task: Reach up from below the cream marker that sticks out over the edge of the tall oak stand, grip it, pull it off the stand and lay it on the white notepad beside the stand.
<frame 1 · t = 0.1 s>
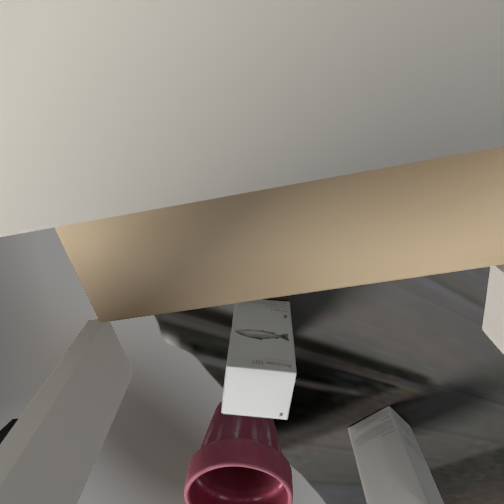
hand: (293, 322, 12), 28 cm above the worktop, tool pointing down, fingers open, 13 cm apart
plant pot: (243, 412, 56), on the worktop
skincare box: (377, 423, 56), on the worktop
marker: (66, 105, 7), point 30 cm above the worktop, touching stand
supplement box: (259, 318, 47), on the worktop
stand: (266, 73, 34), on the worktop
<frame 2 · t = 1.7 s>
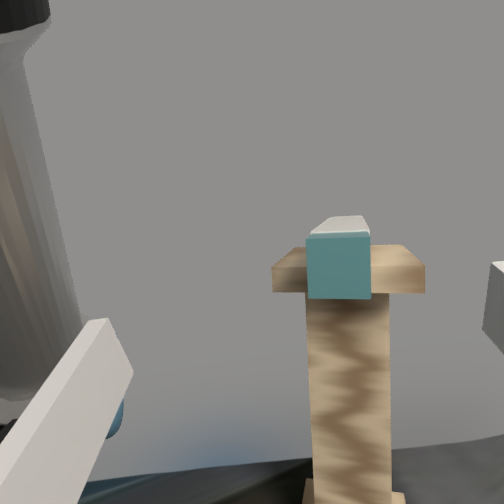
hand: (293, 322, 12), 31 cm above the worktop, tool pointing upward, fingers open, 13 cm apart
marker: (344, 263, 27), point 30 cm above the worktop, touching stand
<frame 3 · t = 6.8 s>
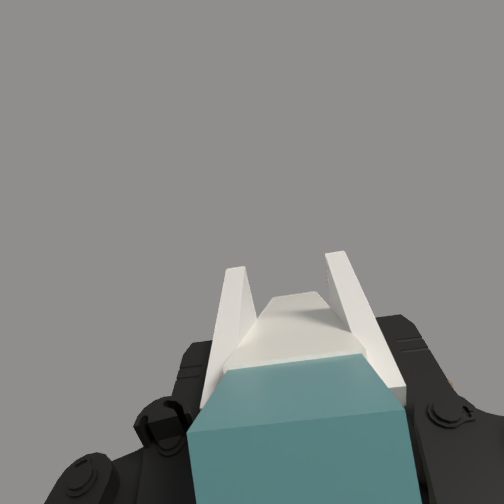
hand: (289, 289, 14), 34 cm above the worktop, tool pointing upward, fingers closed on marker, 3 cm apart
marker: (305, 386, 15), point 30 cm above the worktop, touching gripper
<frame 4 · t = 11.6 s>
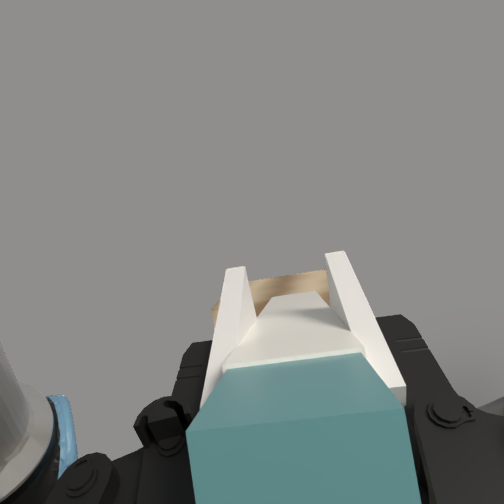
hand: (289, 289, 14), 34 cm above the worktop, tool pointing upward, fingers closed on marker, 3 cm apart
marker: (305, 386, 15), point 29 cm above the worktop, tilted 8°, touching gripper
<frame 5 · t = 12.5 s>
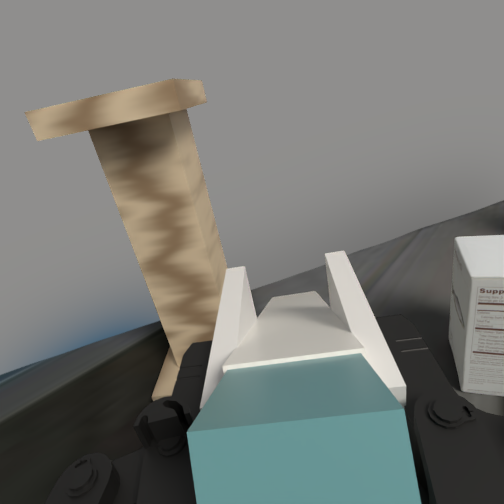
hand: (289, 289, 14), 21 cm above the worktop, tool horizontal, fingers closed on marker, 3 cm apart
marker: (305, 386, 15), point 17 cm above the worktop, tilted 29°, touching gripper
supplement box: (495, 369, 33), on the worktop
stand: (212, 360, 42), on the worktop
when the fingers open (8 cm above the worktop, at t = 16.5 s): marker drops 4 cm, resting on notepad.
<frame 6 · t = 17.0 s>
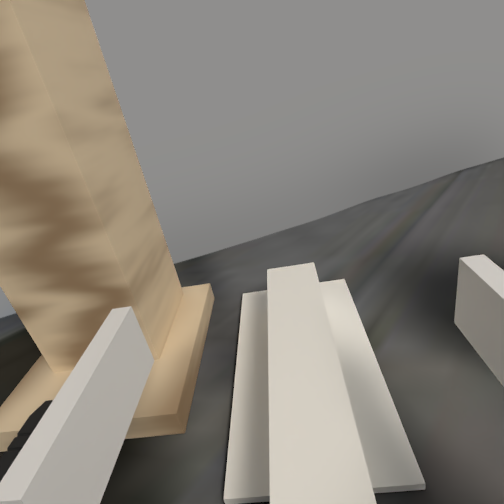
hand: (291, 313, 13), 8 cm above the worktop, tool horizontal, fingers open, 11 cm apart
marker: (315, 441, 16), resting on notepad
stand: (125, 360, 24), on the worktop
notepad: (303, 360, 21), on the worktop
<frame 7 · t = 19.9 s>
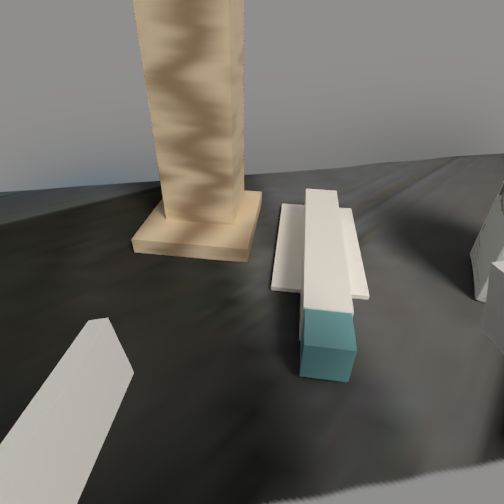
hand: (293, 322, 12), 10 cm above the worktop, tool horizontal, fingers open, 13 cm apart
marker: (319, 275, 30), resting on notepad
stand: (205, 224, 38), on the worktop
notepad: (317, 244, 35), on the worktop
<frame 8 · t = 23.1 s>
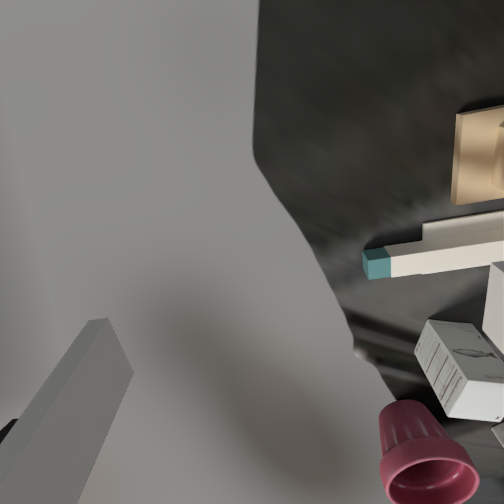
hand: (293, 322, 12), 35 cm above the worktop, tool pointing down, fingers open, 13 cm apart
plant pot: (402, 414, 65), on the worktop
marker: (438, 248, 48), resting on notepad
supplement box: (440, 336, 56), on the worktop
notepad: (477, 240, 48), on the worktop
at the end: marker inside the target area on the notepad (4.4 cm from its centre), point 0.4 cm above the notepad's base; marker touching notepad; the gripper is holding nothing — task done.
